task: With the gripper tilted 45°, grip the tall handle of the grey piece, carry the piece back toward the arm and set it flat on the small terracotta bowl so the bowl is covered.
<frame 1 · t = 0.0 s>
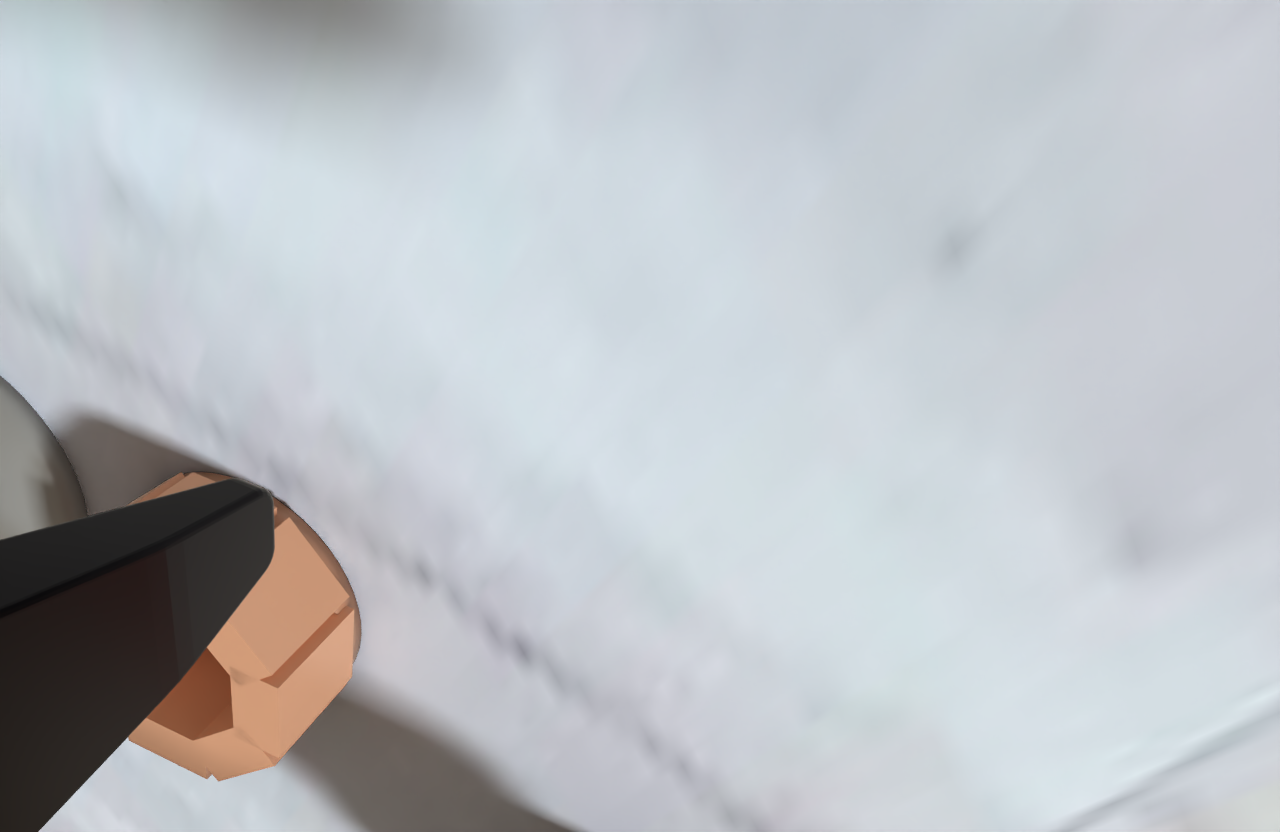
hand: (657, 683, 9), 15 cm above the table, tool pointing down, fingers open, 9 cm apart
terracotta bowl: (249, 585, 35), on the table
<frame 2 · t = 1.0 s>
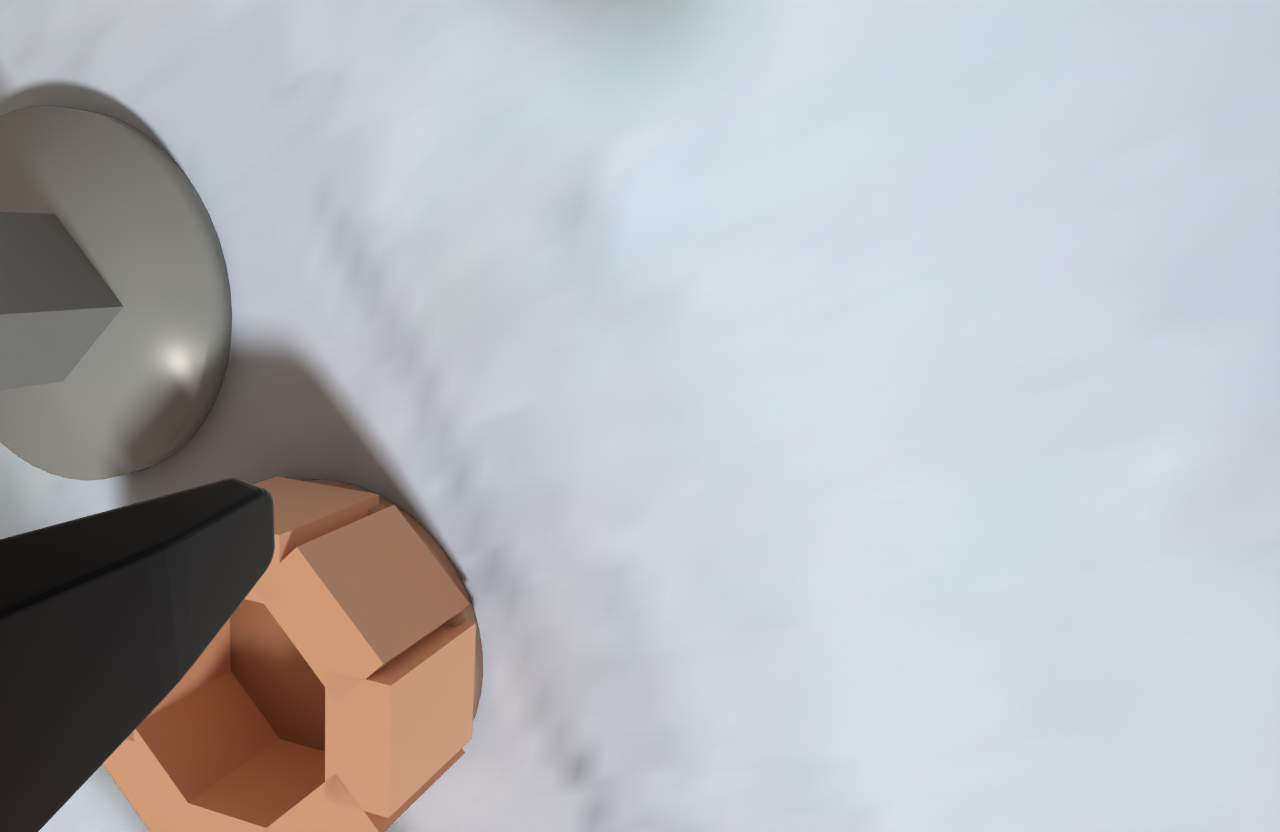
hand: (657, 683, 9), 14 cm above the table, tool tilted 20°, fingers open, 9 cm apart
grey piece: (88, 297, 29), on the table
terracotta bowl: (337, 639, 28), on the table
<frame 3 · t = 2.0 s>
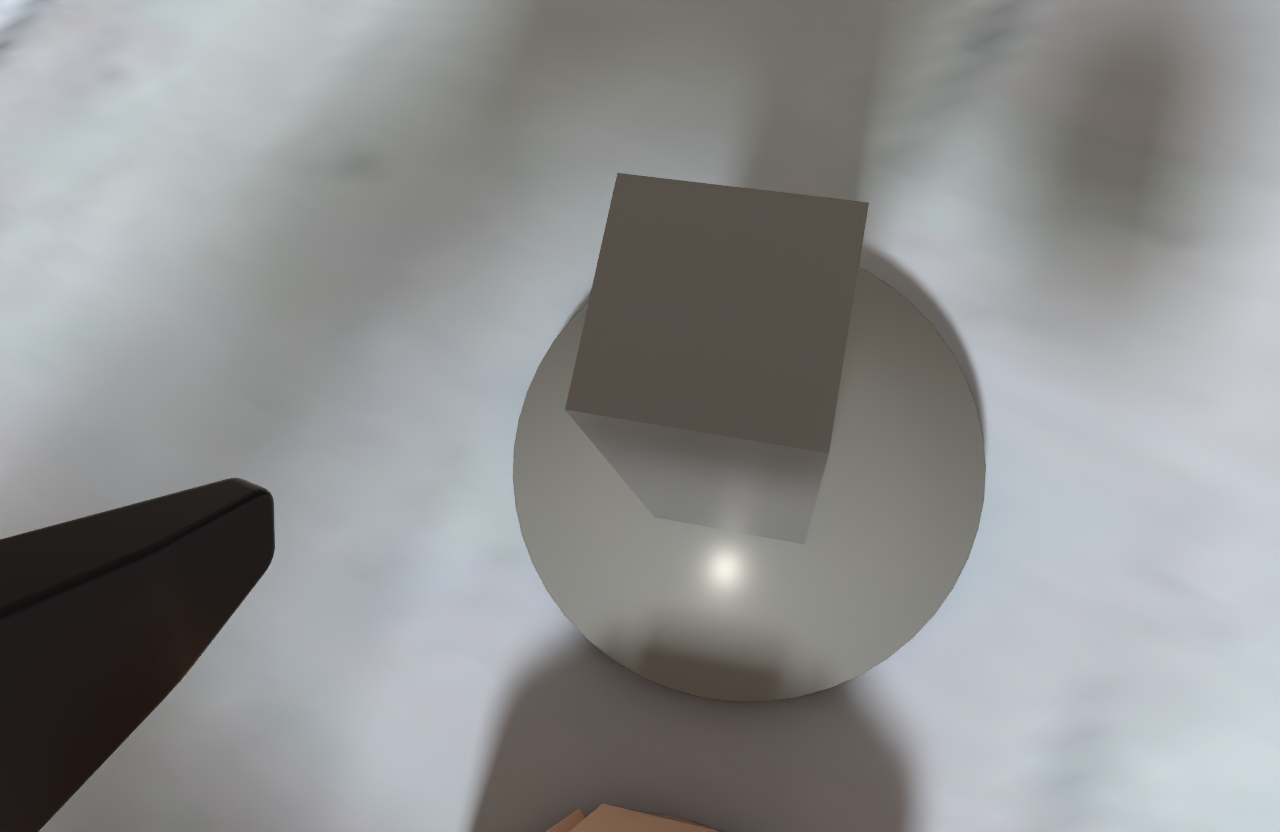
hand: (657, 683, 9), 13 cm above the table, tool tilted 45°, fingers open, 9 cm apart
grey piece: (742, 465, 23), on the table
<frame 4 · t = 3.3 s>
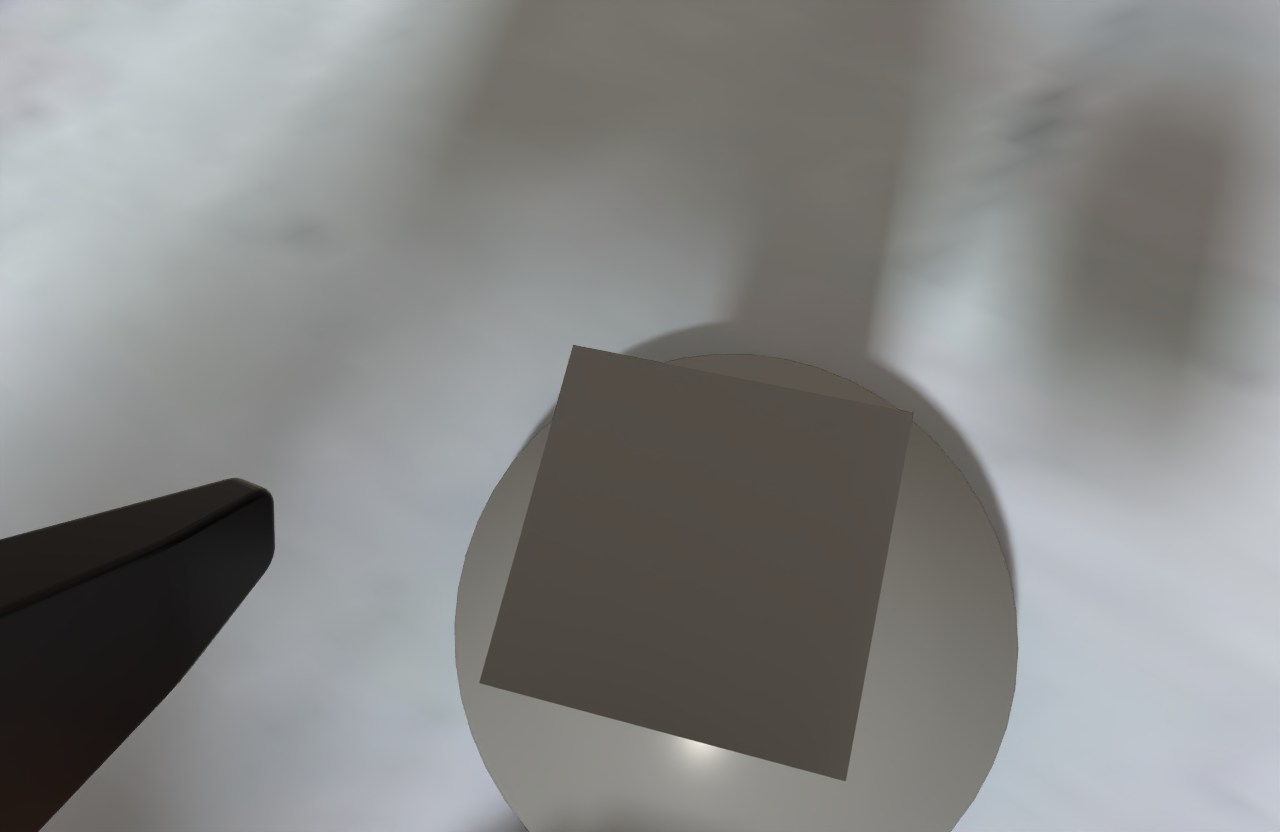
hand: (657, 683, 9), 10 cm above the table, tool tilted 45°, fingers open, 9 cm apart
grey piece: (728, 621, 20), on the table
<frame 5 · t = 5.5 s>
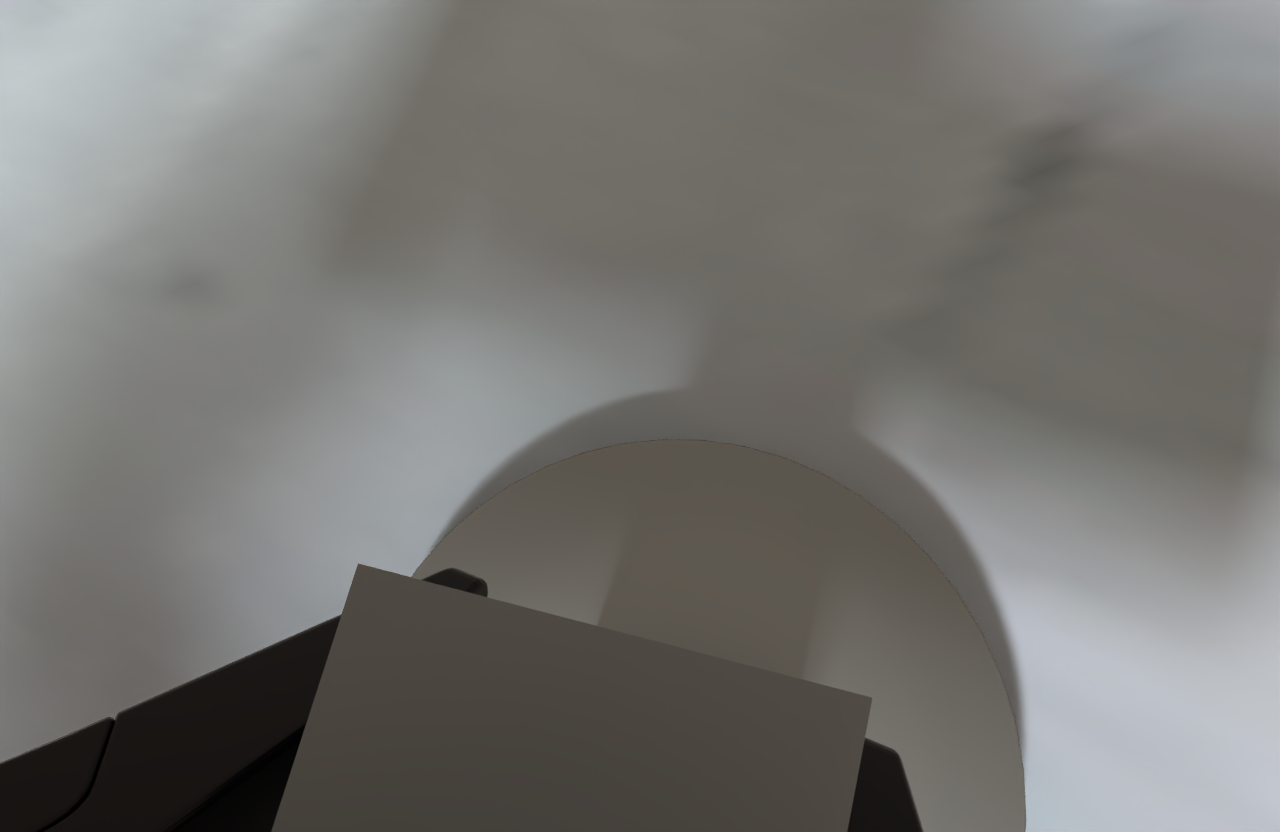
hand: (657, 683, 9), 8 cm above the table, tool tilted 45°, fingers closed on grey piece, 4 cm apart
grey piece: (674, 765, 16), on the table, touching gripper
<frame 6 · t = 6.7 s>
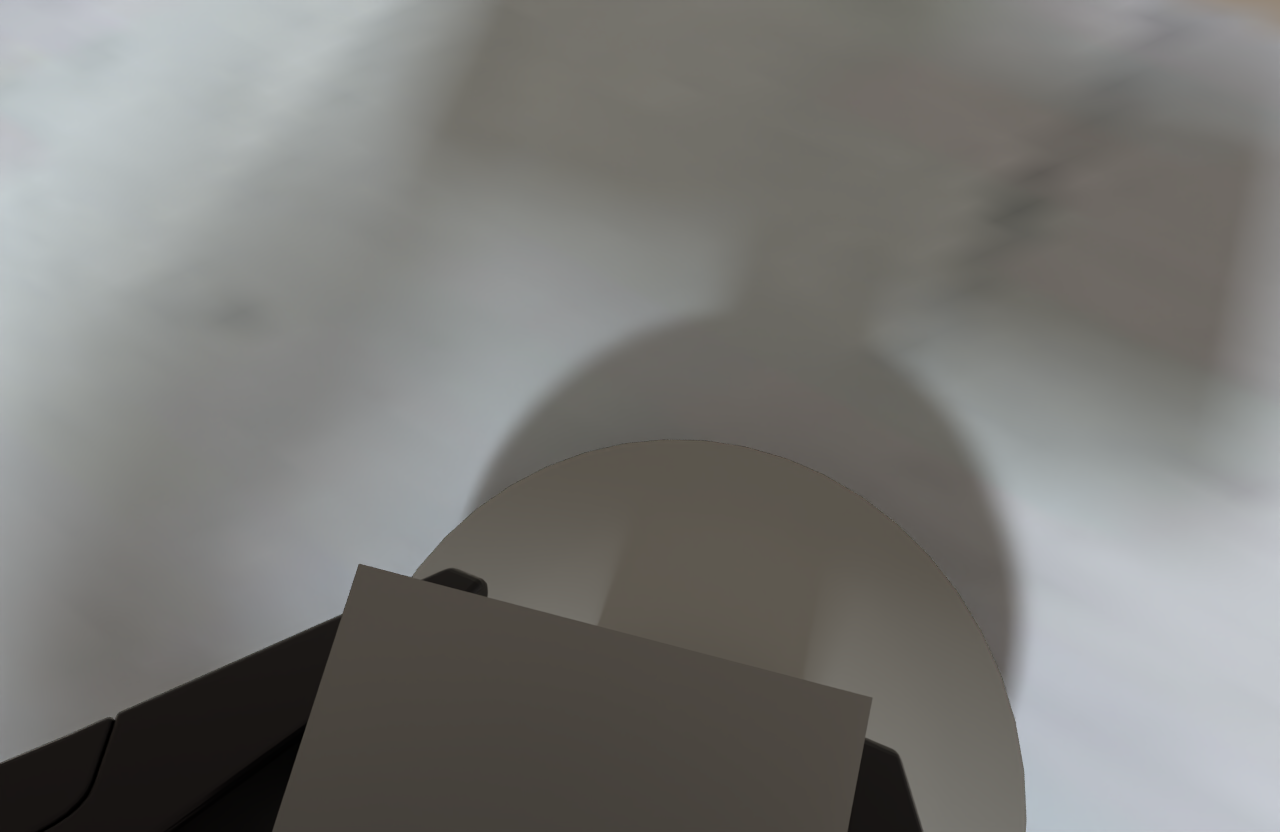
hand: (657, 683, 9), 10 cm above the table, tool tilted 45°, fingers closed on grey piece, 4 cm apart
grey piece: (674, 765, 16), point 2 cm above the table, touching gripper
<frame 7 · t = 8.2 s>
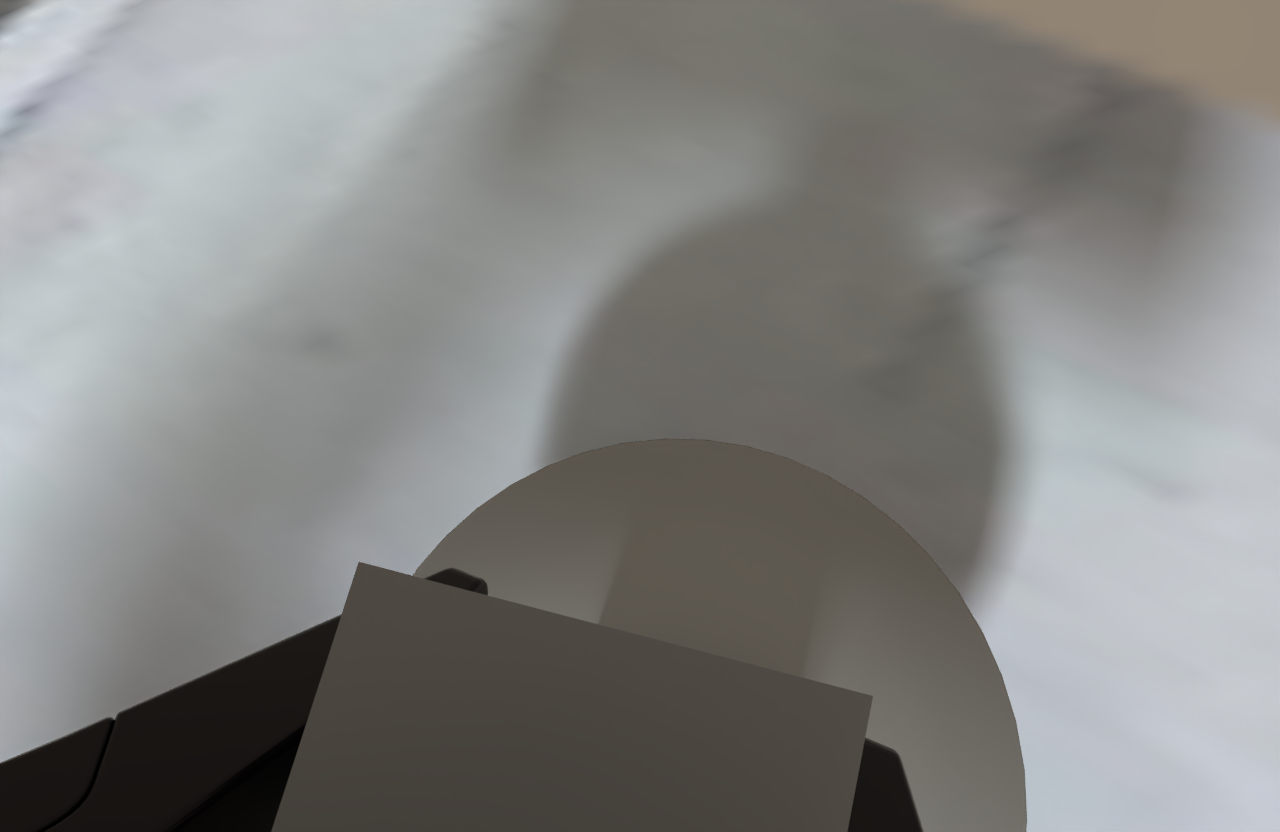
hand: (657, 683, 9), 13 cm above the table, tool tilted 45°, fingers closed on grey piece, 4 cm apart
grey piece: (675, 765, 16), point 6 cm above the table, touching gripper
when the fingers open (13 cm above the table, at t = 10.6 s): grey piece stays where it is, resting on terracotta bowl.
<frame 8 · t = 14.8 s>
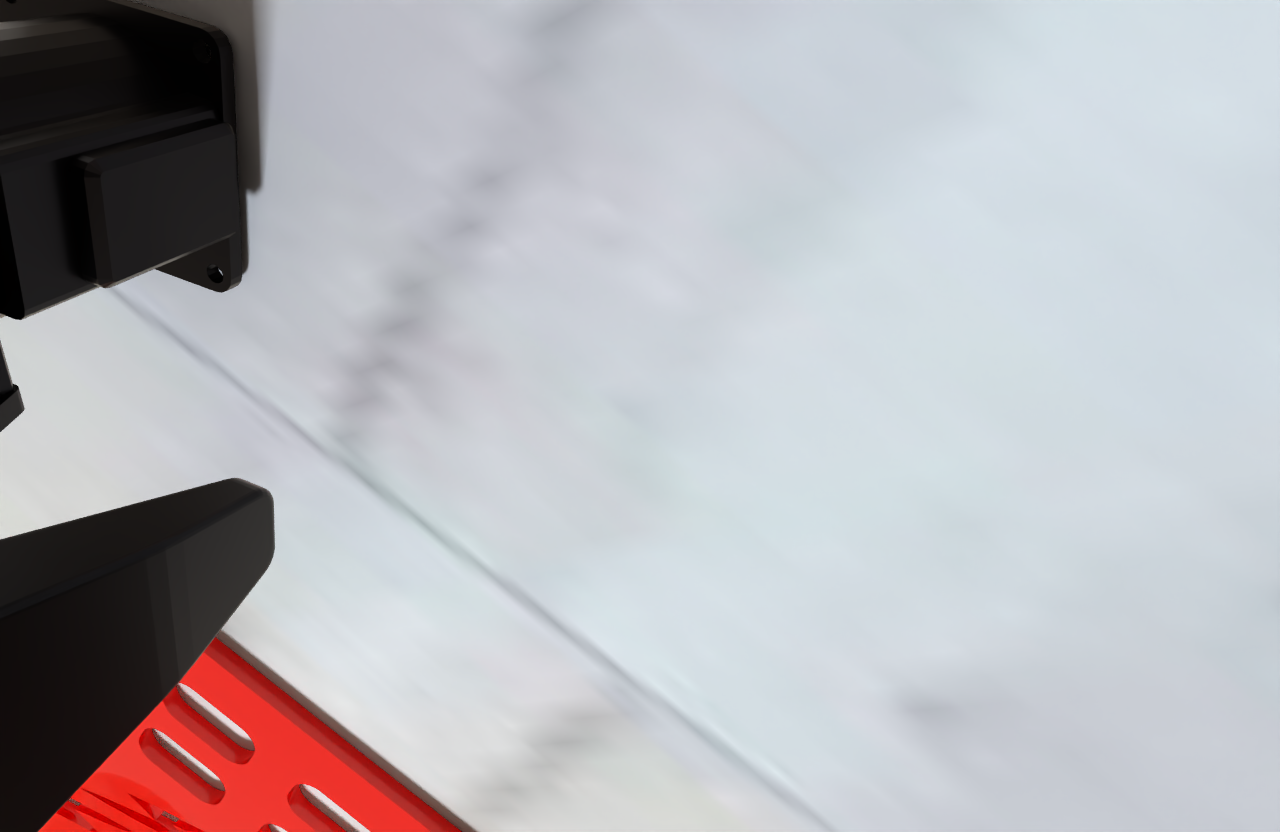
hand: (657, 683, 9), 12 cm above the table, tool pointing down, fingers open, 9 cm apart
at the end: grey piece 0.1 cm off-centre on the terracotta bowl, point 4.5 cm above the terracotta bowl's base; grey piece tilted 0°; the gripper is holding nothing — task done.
